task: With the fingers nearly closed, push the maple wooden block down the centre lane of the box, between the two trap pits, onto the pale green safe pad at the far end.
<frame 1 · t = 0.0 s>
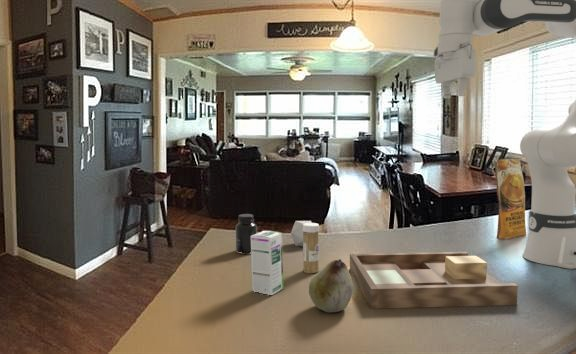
hand: (453, 97, 128), 48 cm above the kitchen counter, fingers open, 8 cm apart
sprinkles bottle: (310, 271, 126), on the kitchen counter
syrup box: (267, 291, 112), on the kitchen counter
supplement bottle: (246, 252, 146), on the kitchen counter
die: (303, 245, 154), on the kitchen counter
fruit: (330, 309, 100), on the kitchen counter
pancake mix bag: (509, 236, 164), on the kitchen counter
maple block: (465, 274, 114), point 2 cm above the kitchen counter, touching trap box
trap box: (424, 285, 114), on the kitchen counter
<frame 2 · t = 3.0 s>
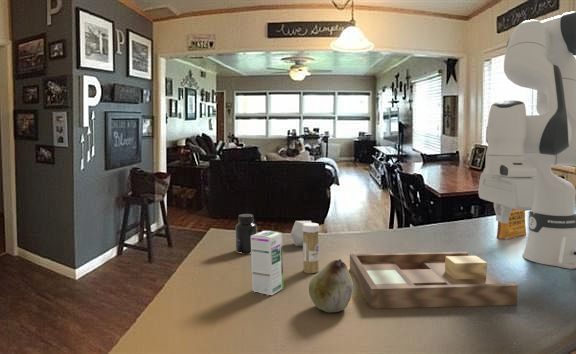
hand: (502, 222, 113), 16 cm above the kitchen counter, fingers closed
nothing on the kitchen counter moved.
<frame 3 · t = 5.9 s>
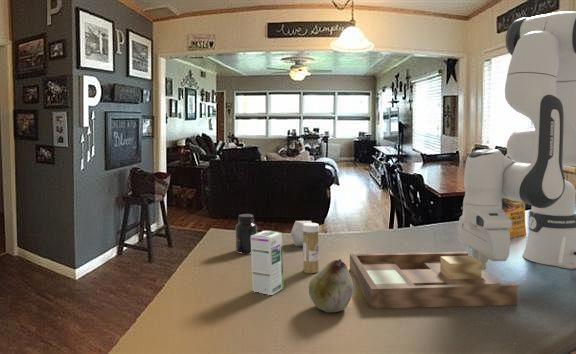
hand: (479, 268, 114), 4 cm above the kitchen counter, fingers closed
maple block: (460, 274, 114), point 3 cm above the kitchen counter
everything else where it was.
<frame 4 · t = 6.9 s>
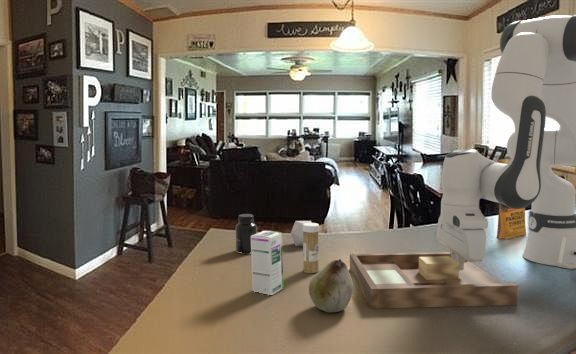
hand: (457, 268, 114), 4 cm above the kitchen counter, fingers closed, pressing on maple block
maple block: (438, 275, 114), point 3 cm above the kitchen counter, touching gripper
everything else where it was.
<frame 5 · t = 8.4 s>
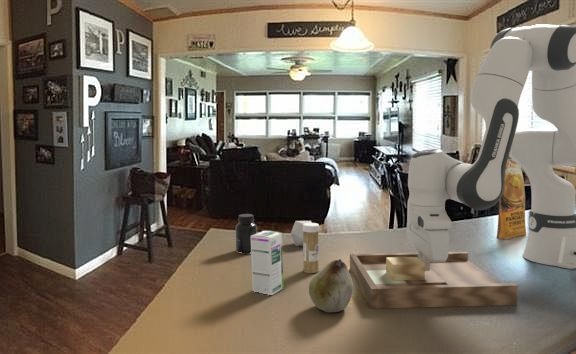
hand: (424, 269, 113), 4 cm above the kitchen counter, fingers closed, pressing on maple block
maple block: (404, 276, 114), point 3 cm above the kitchen counter, touching gripper
everything else where it was.
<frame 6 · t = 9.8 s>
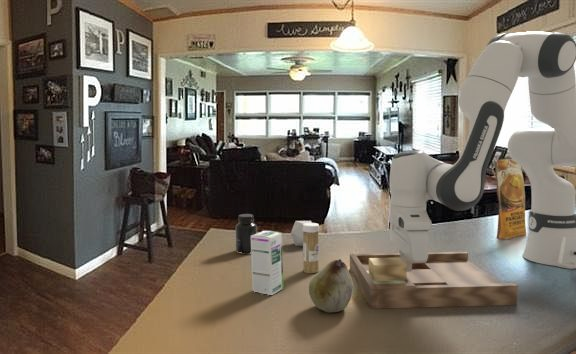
hand: (406, 270, 113), 4 cm above the kitchen counter, fingers closed, pressing on maple block
maple block: (387, 276, 113), point 2 cm above the kitchen counter, touching gripper, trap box
everything else where it was.
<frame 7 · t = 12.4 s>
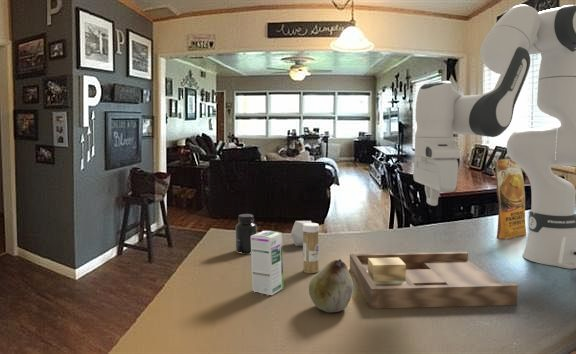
hand: (432, 204, 112), 21 cm above the kitchen counter, fingers closed
maple block: (386, 276, 113), point 2 cm above the kitchen counter, touching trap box
everything else where it was.
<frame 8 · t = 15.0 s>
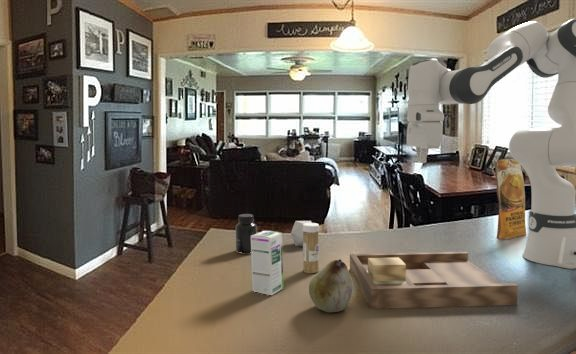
hand: (421, 162, 134), 29 cm above the kitchen counter, fingers closed
nothing on the kitchen counter moved.
at the end: maple block inside the target area (0.5 cm from its centre), point 2.5 cm above the kitchen counter; maple block tilted 0° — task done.
